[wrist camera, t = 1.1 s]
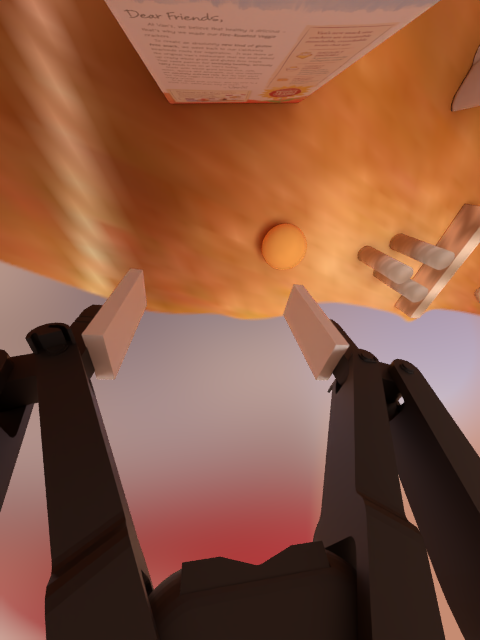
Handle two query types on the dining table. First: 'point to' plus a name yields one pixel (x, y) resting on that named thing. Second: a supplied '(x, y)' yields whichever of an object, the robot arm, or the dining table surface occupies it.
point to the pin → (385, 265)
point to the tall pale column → (469, 88)
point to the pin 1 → (422, 251)
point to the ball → (284, 246)
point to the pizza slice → (477, 294)
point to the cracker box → (255, 43)
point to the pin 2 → (405, 288)
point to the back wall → (461, 241)
